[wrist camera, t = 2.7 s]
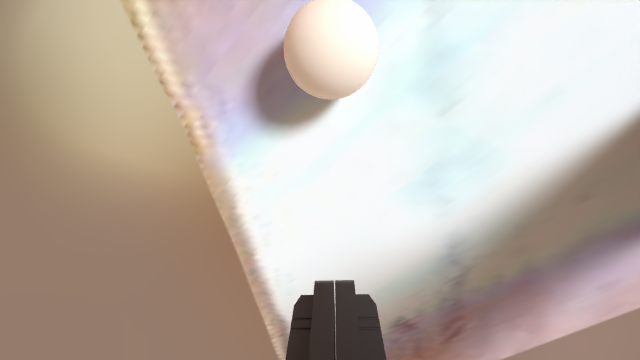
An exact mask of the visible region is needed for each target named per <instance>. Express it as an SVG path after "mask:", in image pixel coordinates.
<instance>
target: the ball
mask: <svg viewBox="0 0 640 360" xmlns="http://www.w3.org/2000/svg"><path fill="white" fill-rule="evenodd" d="M377 57H378V37H377V33H376V29H375V27H374V24H373V22H372V20H371V19H370V17H369V16H368V14H367V13H366V12H365V11H364V10H363V9H362V8H361V7H360V6H359V5H357V4H356V3H354V2H353V1H351V0H313V1H311V2H309V3H307V4H306V5H304V6H303V7H302V8H301V9H300V10H299V11H298V12H297V13H296V14H295V15H294V17H293V18H292V20H291V21H290V24H289V26H288V28H287V31H286V34H285V38H284V59H285V63H286V67H287V69H288V72H289V74H290V75H291V77H292V79H293V80H294V81H295V83H296V84H297V85H298V86H299V87H300V88H301V89H302V90H304V91H305V92H307V93H308V94H310V95H312V96H314V97H317V98H321V99H339V98H343V97H346V96H349V95H351V94H352V93H354V92H356V91H357V90H358V89H360V88H361V87H362V86H363V85H364V84H365V83H366V81H367V80H368V79H369V77H370V76H371V74H372V72H373V70H374V68H375V65H376V62H377Z"/></svg>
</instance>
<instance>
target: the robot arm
mask: <svg viewBox="0 0 640 360" xmlns="http://www.w3.org/2000/svg"><path fill="white" fill-rule="evenodd" d="M335 299H336V351H335V303H334V281H315V285H314V295H301V296H300V298H299V299H298V301H297V302H296V304H295V305H294V310H293V316H292V322H291V330H290V335H289V341H288V348H287V354H286V360H386V355H385V350H384V345H383V339H382V334H381V330H380V323H379V319H378V312H377V307H376V304H375V303H374V301H373V300H372V298H371V297H370V296H369V294H359V295H355V285H354V280H335Z"/></svg>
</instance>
